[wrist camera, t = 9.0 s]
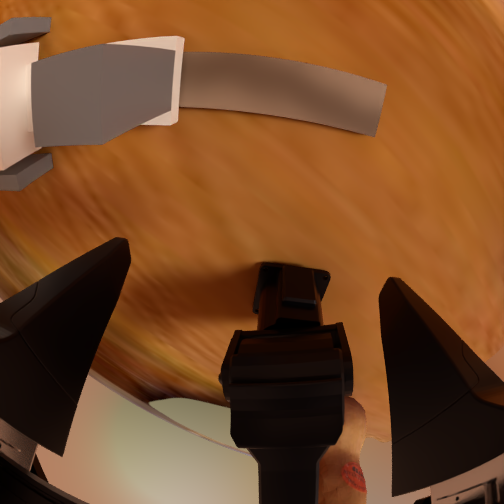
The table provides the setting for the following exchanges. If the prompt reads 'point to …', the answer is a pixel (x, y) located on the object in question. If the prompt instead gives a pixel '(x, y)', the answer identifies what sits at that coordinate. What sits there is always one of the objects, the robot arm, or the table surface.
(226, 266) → the table surface
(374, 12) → the table surface
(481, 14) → the table surface
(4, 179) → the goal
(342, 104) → the rail
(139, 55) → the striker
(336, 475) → the butternut squash
